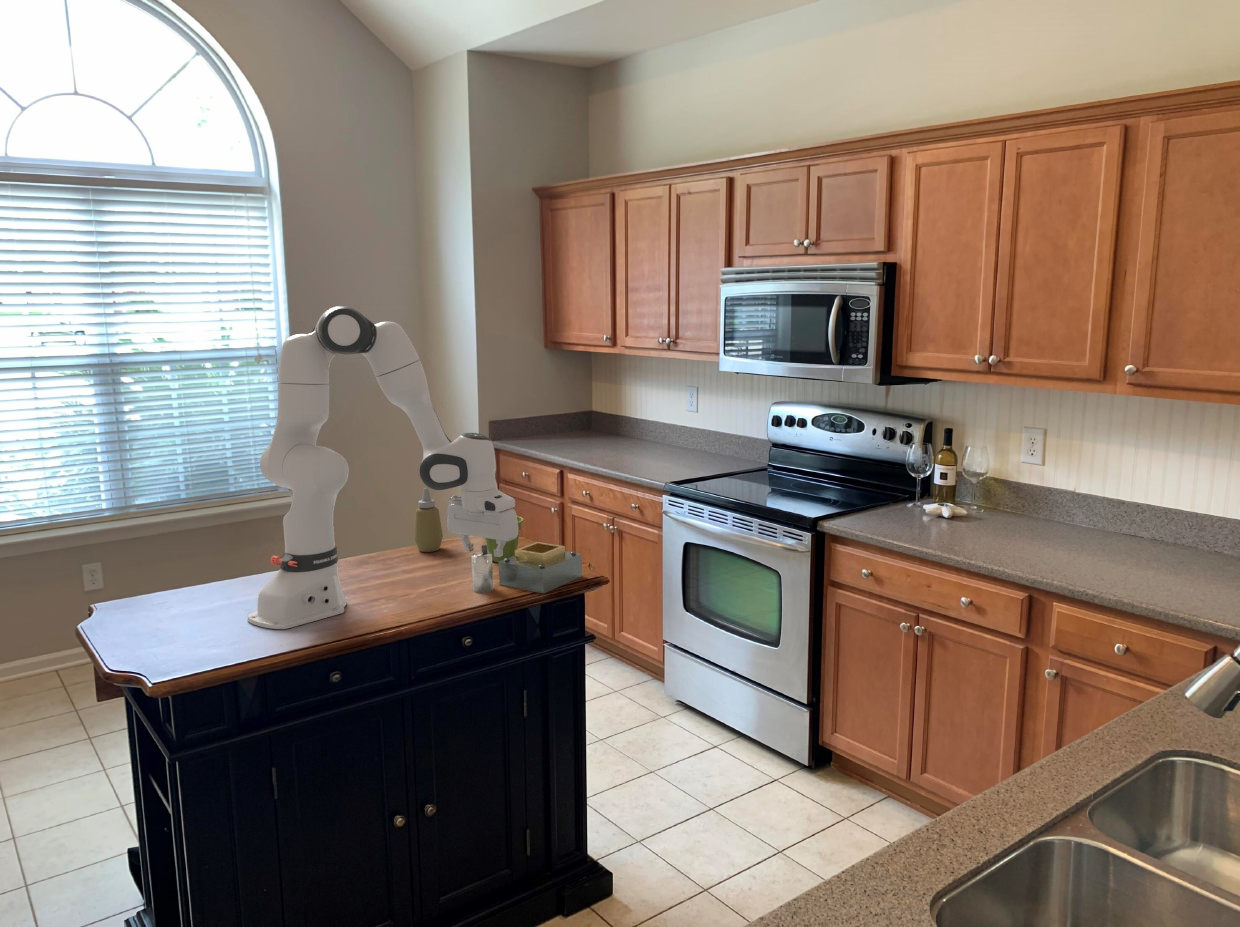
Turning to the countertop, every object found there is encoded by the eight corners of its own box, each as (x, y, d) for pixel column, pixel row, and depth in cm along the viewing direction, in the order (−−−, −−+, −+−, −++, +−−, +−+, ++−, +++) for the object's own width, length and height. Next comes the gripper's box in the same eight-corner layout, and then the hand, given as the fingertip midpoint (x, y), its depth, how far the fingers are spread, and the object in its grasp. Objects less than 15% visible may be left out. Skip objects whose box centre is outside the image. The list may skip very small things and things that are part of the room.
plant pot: (531, 561, 258) (529, 521, 256) (489, 568, 253) (487, 527, 251) (516, 551, 269) (514, 512, 267) (475, 557, 264) (473, 517, 262)
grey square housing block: (543, 593, 231) (542, 559, 229) (499, 584, 239) (498, 552, 237) (582, 576, 244) (581, 544, 243) (539, 568, 252) (537, 537, 250)
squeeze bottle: (415, 554, 267) (411, 492, 264) (414, 547, 275) (410, 486, 272) (444, 552, 269) (441, 490, 266) (442, 544, 277) (438, 484, 274)
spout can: (484, 594, 232) (482, 550, 230) (468, 590, 234) (466, 547, 232) (497, 588, 236) (495, 545, 234) (482, 585, 238) (480, 542, 236)
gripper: (439, 497, 234) (443, 551, 237) (503, 506, 223) (507, 562, 226) (456, 492, 239) (460, 544, 242) (520, 500, 228) (523, 555, 231)
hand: (483, 553), depth 234 cm, fingers open, 8 cm apart
